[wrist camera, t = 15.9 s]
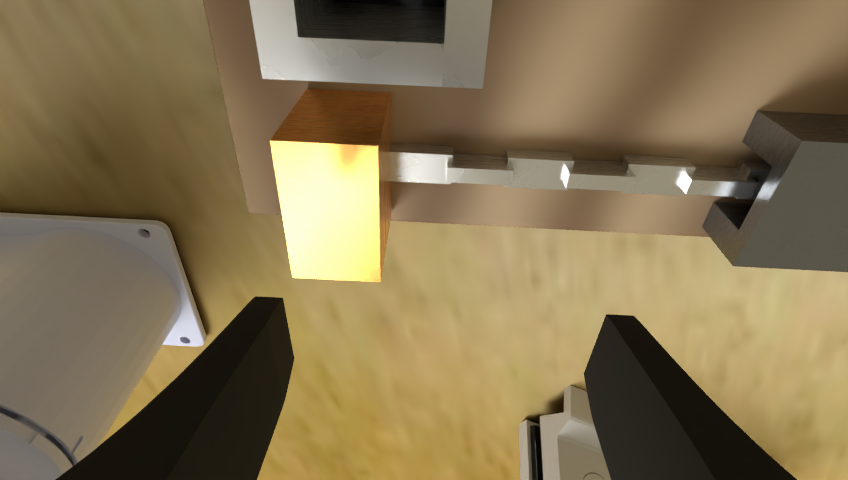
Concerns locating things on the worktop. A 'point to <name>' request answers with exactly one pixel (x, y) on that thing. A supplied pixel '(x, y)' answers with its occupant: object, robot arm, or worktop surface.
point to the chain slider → (430, 179)
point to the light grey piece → (563, 443)
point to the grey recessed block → (373, 42)
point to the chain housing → (791, 196)
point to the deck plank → (573, 101)
